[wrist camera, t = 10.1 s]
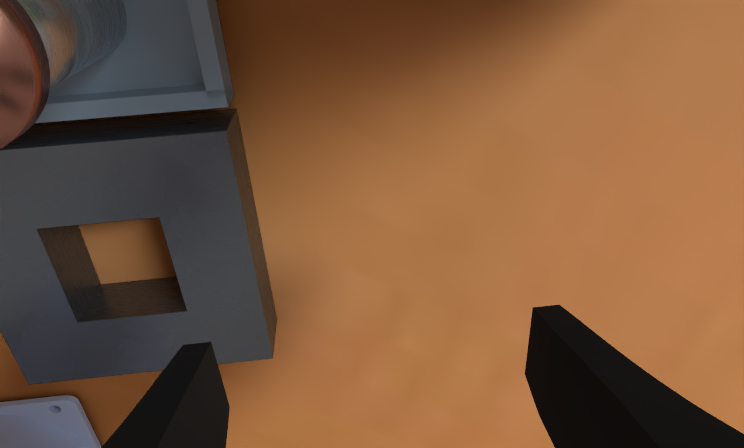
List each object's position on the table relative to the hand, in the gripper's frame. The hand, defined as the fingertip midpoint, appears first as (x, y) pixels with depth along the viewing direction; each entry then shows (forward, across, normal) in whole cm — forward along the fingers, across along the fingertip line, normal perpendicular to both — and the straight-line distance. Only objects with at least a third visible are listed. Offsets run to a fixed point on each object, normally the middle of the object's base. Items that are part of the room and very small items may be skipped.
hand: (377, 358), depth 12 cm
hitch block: (+10, +9, +2) cm, 14 cm away
